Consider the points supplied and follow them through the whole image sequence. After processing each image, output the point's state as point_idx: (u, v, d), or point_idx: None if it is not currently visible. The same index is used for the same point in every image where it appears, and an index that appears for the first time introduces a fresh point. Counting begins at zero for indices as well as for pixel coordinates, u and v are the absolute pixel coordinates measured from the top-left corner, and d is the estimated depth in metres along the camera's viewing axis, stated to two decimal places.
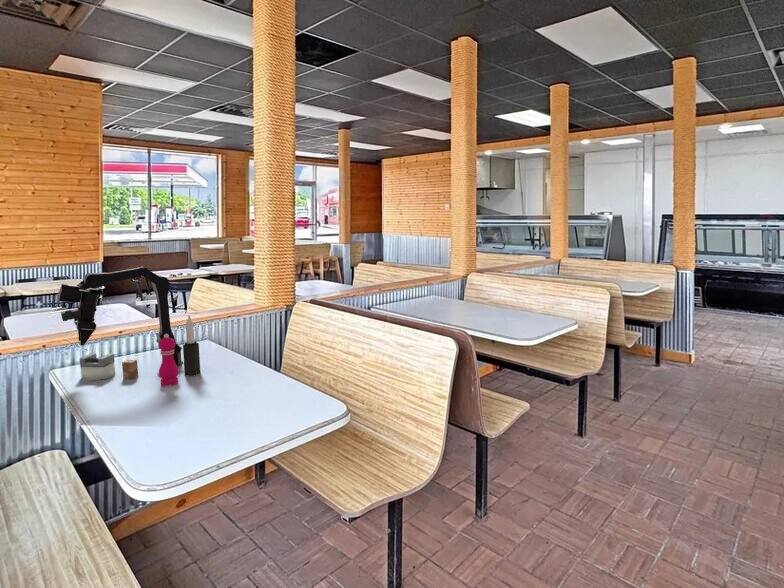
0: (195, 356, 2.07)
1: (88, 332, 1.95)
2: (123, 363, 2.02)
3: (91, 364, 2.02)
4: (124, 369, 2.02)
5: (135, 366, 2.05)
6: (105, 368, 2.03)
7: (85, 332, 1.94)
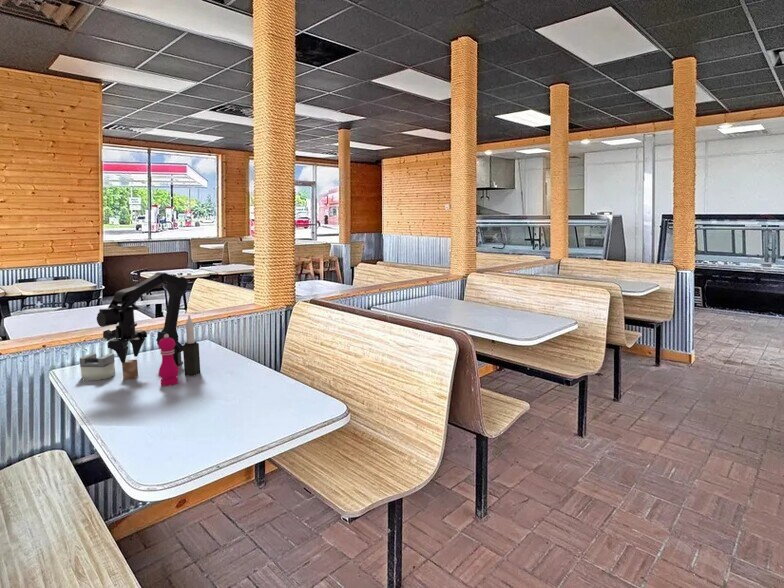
0: (195, 356, 2.07)
1: (122, 350, 1.97)
2: (123, 363, 2.02)
3: (91, 364, 2.02)
4: (124, 369, 2.02)
5: (135, 366, 2.05)
6: (105, 368, 2.03)
7: (120, 350, 1.97)
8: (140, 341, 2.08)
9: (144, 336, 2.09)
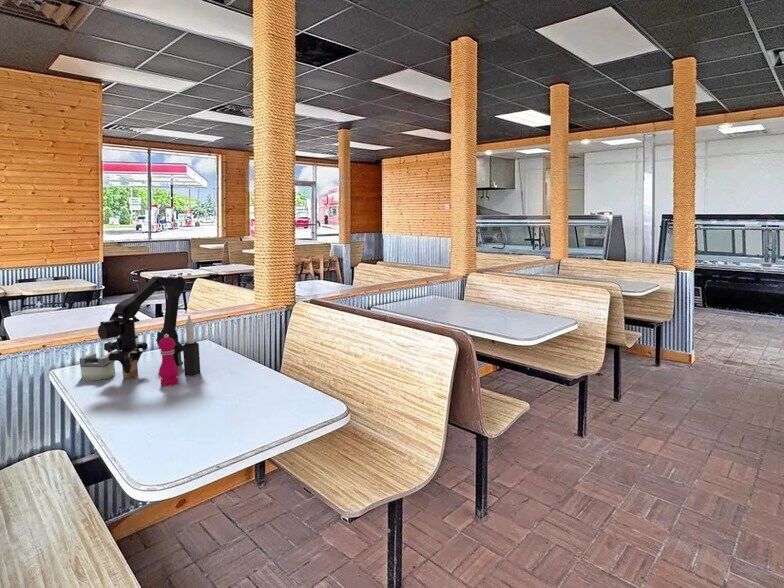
0: (195, 356, 2.07)
1: (127, 360, 2.00)
2: None
3: (91, 364, 2.02)
4: None
5: (135, 366, 2.05)
6: (105, 368, 2.03)
7: (125, 361, 2.00)
8: (138, 354, 2.06)
9: (145, 348, 2.10)
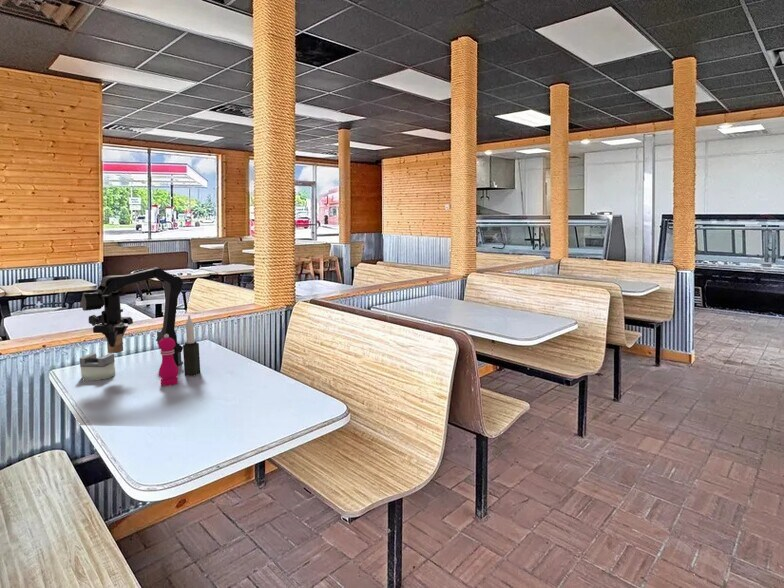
0: (195, 356, 2.07)
1: (111, 334, 1.99)
2: None
3: (91, 364, 2.02)
4: None
5: (120, 340, 2.03)
6: (105, 368, 2.03)
7: (110, 334, 1.99)
8: (123, 329, 2.05)
9: (130, 322, 2.09)
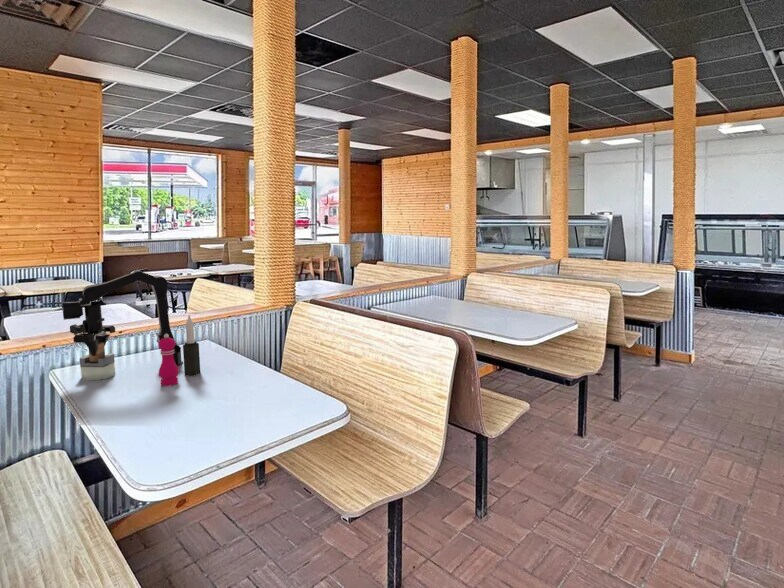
0: (195, 356, 2.07)
1: (92, 343, 2.00)
2: None
3: (91, 364, 2.02)
4: (90, 352, 2.03)
5: (102, 349, 2.05)
6: (105, 368, 2.03)
7: (91, 343, 2.01)
8: (104, 337, 2.07)
9: (112, 331, 2.10)
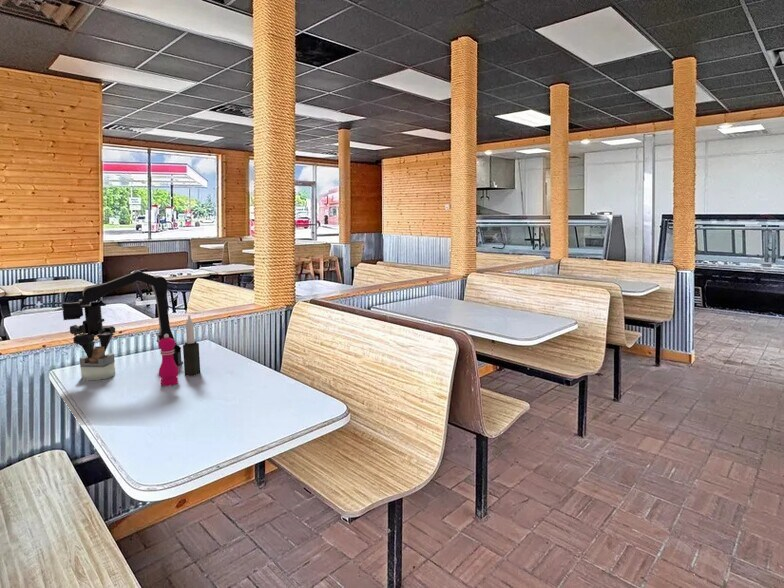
0: (195, 356, 2.07)
1: (89, 345, 1.98)
2: None
3: (91, 364, 2.02)
4: None
5: (102, 353, 2.05)
6: (105, 368, 2.03)
7: (87, 345, 1.99)
8: (108, 336, 2.09)
9: (112, 332, 2.10)
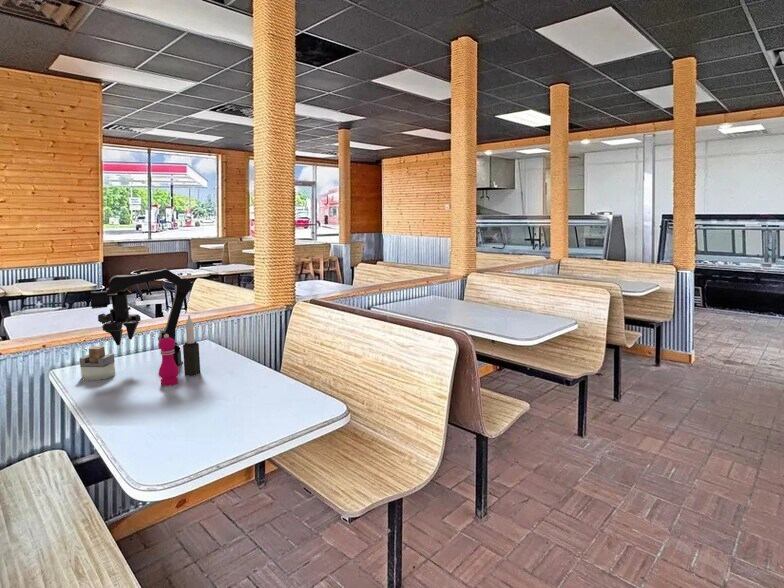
0: (195, 356, 2.07)
1: (117, 333, 2.04)
2: (90, 350, 2.03)
3: (91, 364, 2.02)
4: (91, 356, 2.03)
5: (102, 353, 2.05)
6: (105, 368, 2.03)
7: (115, 333, 2.05)
8: (134, 324, 2.15)
9: (138, 320, 2.17)
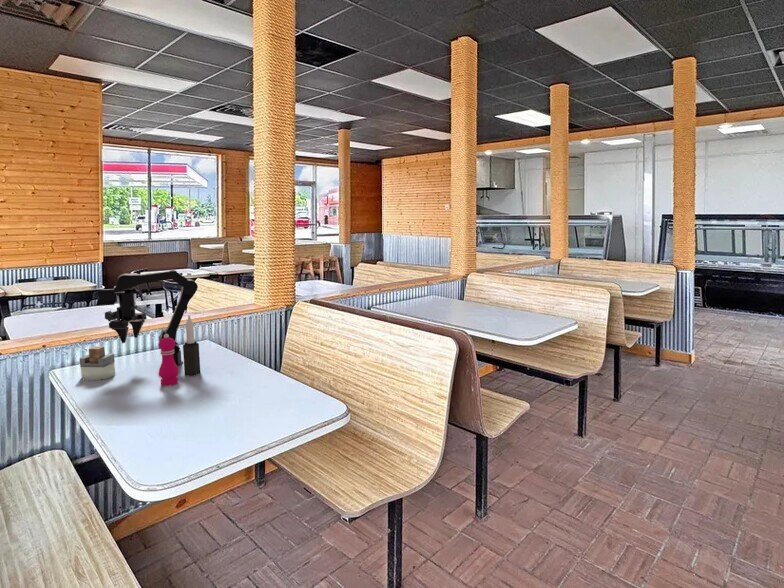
0: (195, 356, 2.07)
1: (123, 330, 2.06)
2: (90, 350, 2.03)
3: (91, 364, 2.02)
4: (91, 356, 2.03)
5: (102, 353, 2.05)
6: (105, 368, 2.03)
7: (121, 330, 2.06)
8: (140, 323, 2.17)
9: (144, 318, 2.18)
